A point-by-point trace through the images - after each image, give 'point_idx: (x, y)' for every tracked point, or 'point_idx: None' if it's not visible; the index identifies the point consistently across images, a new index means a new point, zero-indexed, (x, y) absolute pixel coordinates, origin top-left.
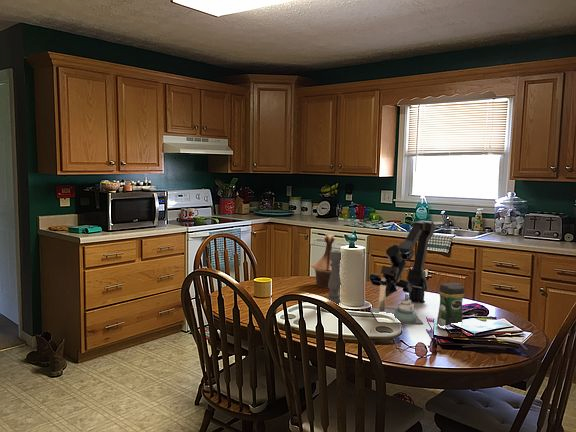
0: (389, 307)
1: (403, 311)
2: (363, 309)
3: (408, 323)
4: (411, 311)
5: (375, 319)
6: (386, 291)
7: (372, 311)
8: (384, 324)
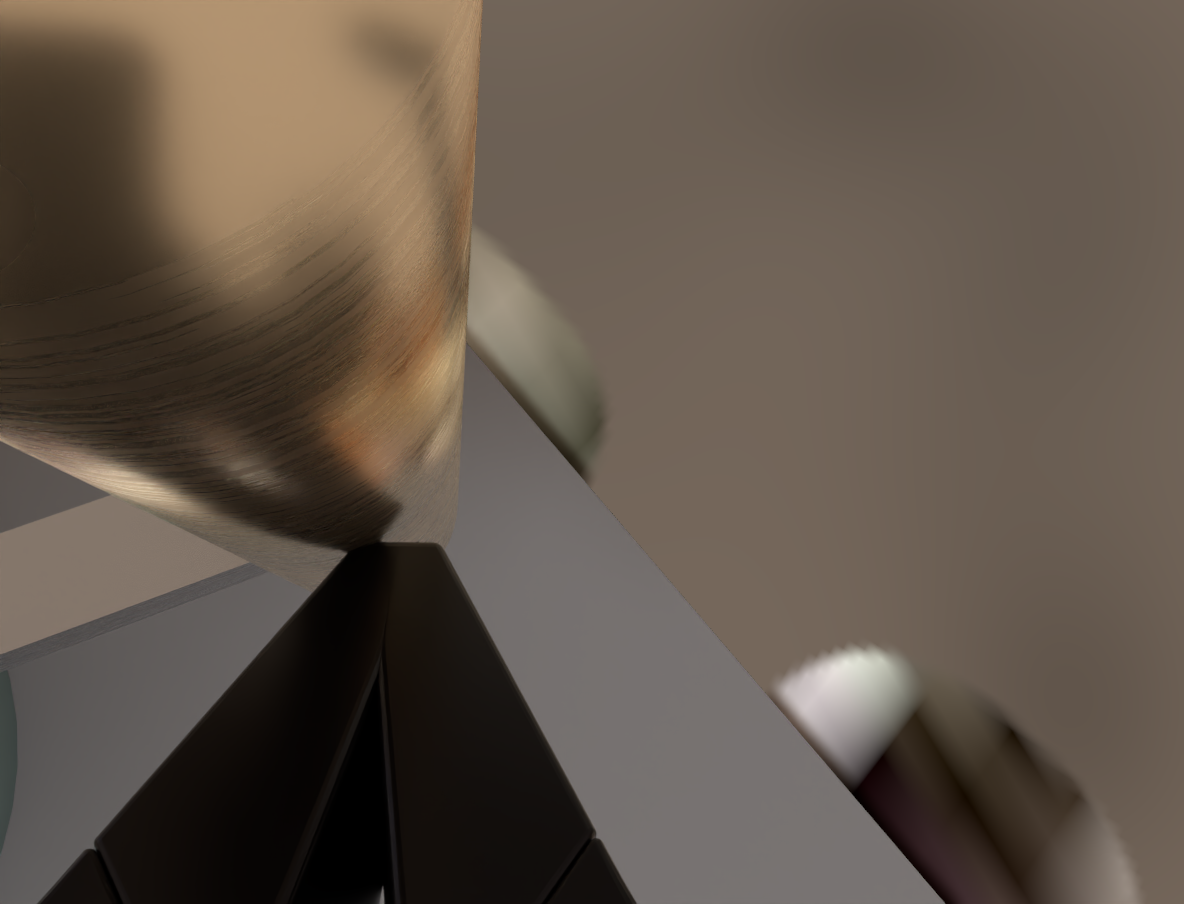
0: (29, 535)
1: None
2: (1051, 799)
3: None
4: None
5: None
6: (139, 848)
7: (743, 707)
8: None
